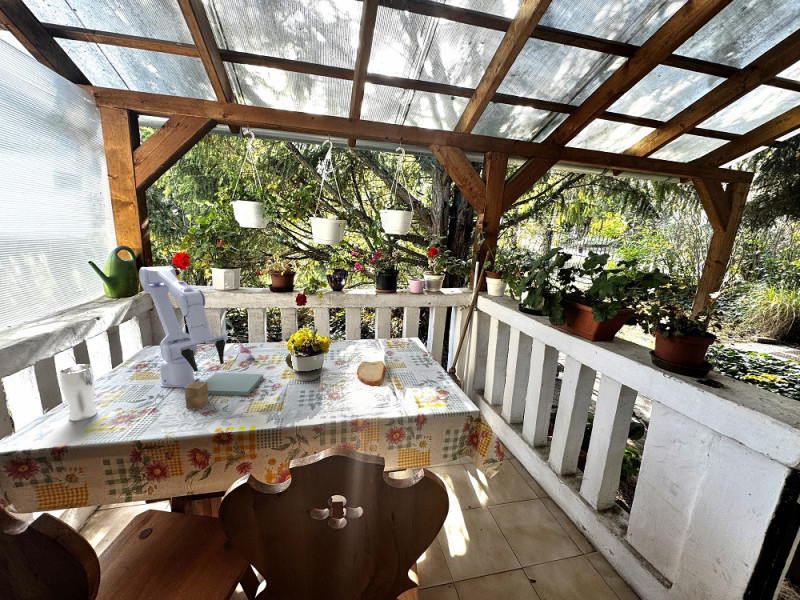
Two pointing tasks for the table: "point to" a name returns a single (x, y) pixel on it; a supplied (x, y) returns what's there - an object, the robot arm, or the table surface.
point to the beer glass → (79, 391)
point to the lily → (243, 349)
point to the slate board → (232, 383)
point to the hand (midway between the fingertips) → (209, 367)
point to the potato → (289, 361)
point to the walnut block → (196, 395)
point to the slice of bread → (371, 373)
